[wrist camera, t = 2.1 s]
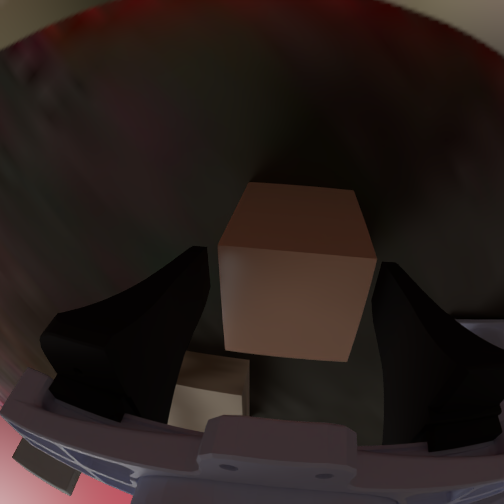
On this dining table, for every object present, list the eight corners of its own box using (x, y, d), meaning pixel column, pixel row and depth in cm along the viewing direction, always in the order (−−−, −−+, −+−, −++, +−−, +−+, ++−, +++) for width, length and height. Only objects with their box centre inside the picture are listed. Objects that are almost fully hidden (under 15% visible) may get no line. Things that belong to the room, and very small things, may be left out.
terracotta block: (353, 190, 14) (377, 259, 9) (339, 275, 17) (346, 361, 12) (249, 181, 15) (217, 245, 10) (249, 268, 18) (225, 350, 13)
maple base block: (250, 356, 22) (241, 395, 19) (250, 414, 27) (243, 445, 24) (137, 337, 23) (119, 370, 20) (160, 397, 28) (148, 425, 25)
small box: (63, 364, 28) (10, 457, 18) (112, 393, 29) (66, 492, 18) (66, 392, 33) (25, 469, 22) (108, 416, 34) (71, 497, 23)
